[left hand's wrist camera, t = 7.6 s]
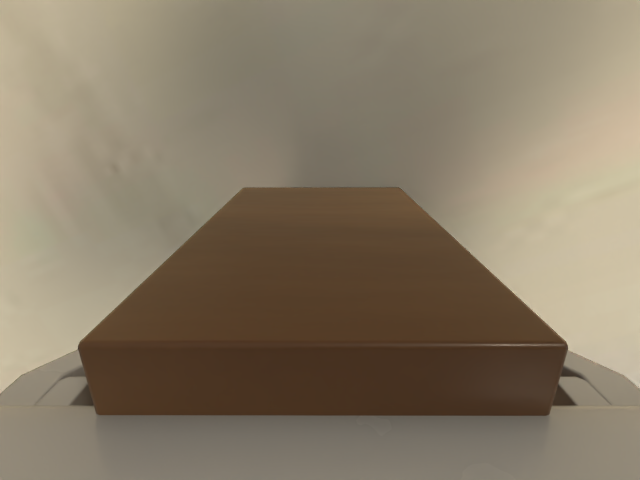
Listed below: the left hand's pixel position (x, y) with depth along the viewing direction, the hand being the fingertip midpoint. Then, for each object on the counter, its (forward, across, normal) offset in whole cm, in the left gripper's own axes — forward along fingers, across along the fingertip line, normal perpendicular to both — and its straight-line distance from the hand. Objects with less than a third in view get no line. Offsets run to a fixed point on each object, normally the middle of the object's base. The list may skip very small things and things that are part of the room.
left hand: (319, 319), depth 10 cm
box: (+5, 0, +10) cm, 12 cm away
